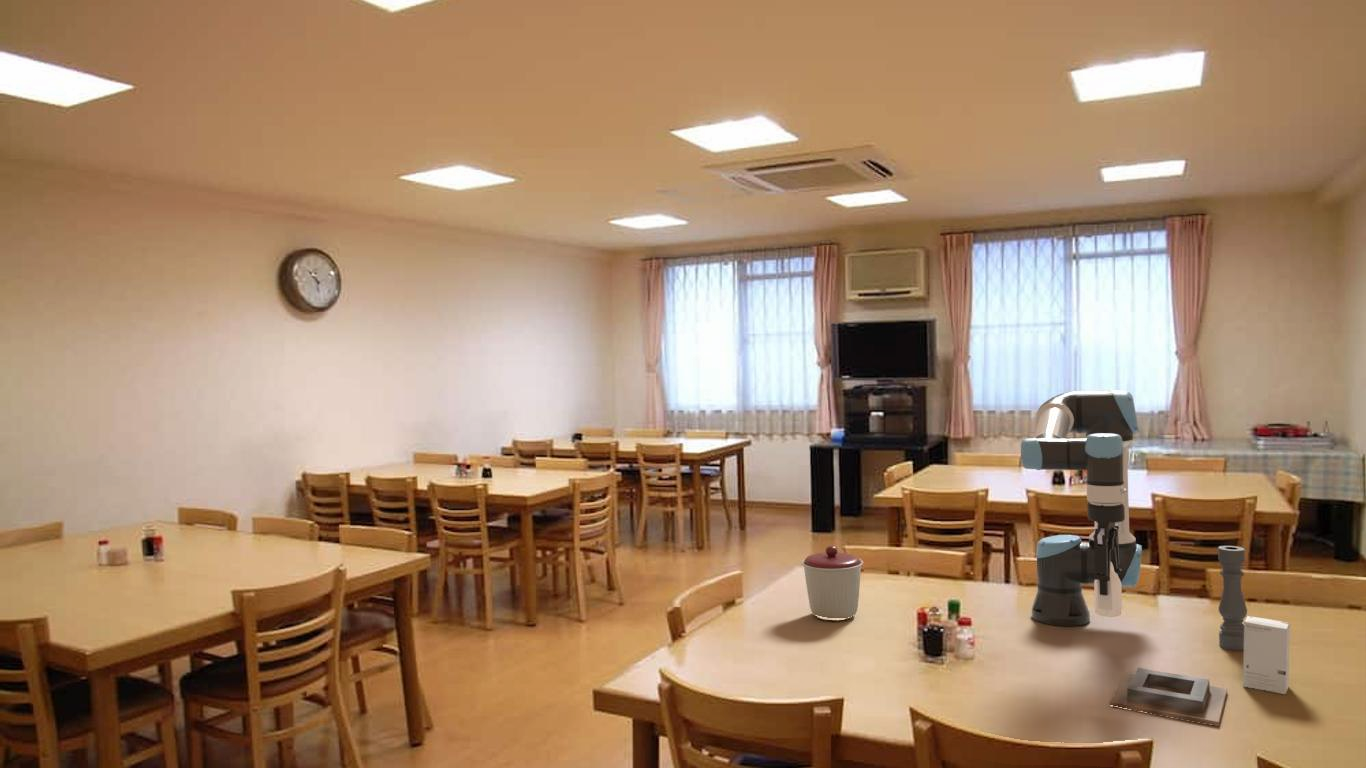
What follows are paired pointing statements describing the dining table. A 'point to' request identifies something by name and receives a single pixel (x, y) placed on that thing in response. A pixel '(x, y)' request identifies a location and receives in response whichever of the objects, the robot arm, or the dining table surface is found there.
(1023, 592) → the dining table surface
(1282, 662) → the skincare box
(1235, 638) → the candle holder
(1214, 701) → the socket
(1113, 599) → the white bottle-shaped piece
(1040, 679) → the dining table surface
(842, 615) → the canister
